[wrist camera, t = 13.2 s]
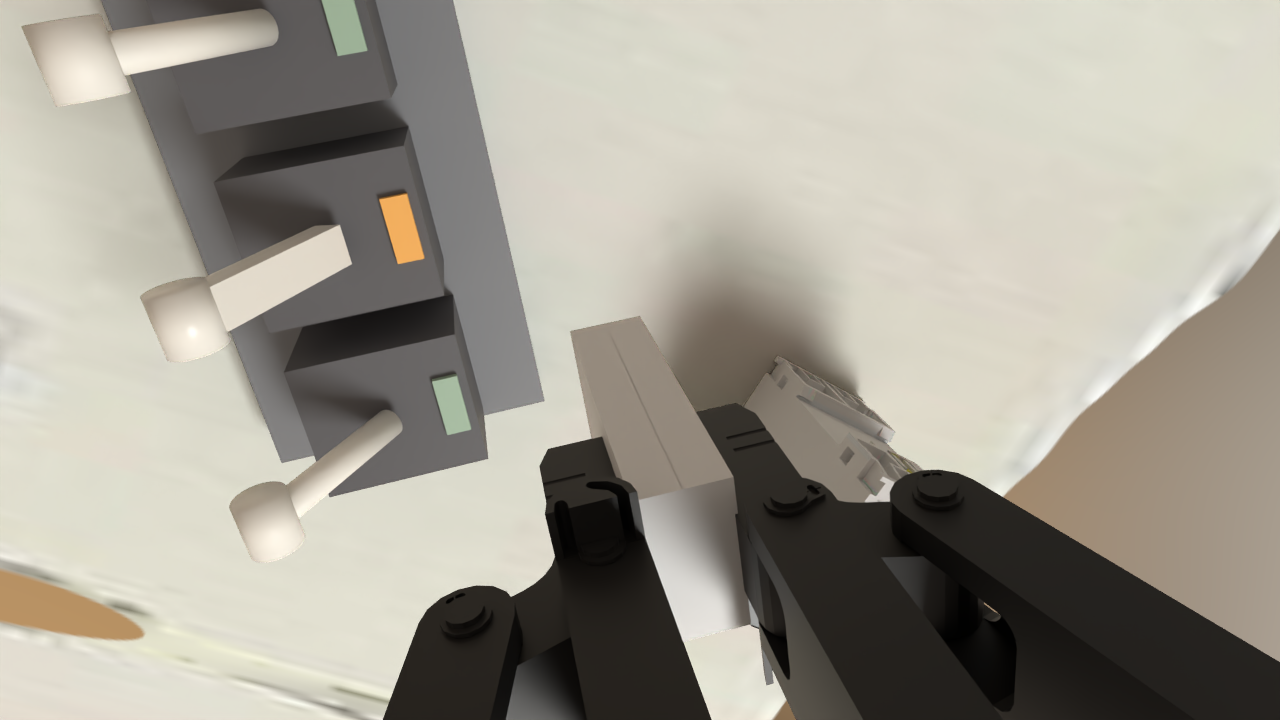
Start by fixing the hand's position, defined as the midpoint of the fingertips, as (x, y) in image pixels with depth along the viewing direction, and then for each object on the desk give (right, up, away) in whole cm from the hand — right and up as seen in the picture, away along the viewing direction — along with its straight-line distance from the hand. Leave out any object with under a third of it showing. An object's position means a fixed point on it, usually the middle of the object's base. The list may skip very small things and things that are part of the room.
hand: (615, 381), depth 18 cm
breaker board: (-15, +9, +28) cm, 33 cm away
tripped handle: (-13, +6, +19) cm, 24 cm away
